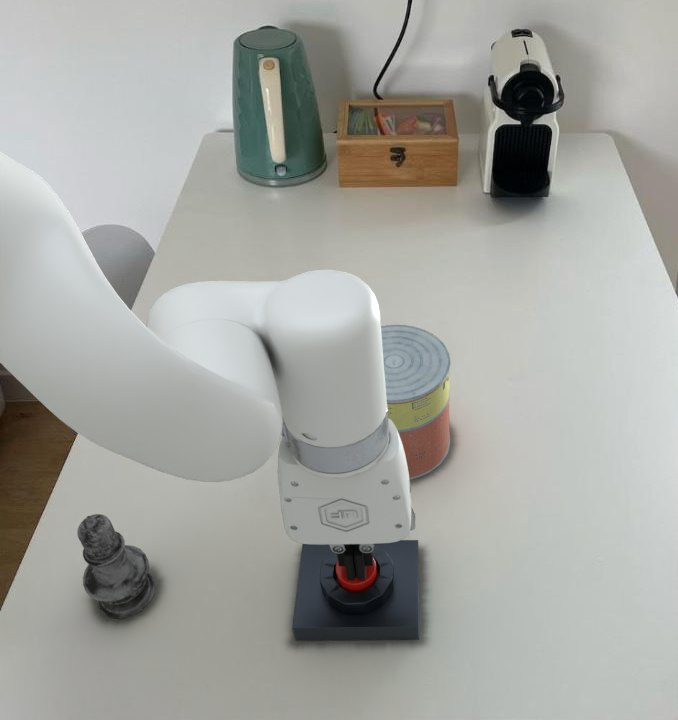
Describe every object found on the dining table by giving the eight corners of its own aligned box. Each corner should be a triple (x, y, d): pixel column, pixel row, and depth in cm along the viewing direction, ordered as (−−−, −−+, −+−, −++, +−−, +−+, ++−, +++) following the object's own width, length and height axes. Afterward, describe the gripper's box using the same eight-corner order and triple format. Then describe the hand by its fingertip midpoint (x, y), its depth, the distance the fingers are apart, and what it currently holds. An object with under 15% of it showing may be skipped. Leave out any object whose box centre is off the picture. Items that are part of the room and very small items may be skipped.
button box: (295, 641, 72) (289, 617, 69) (305, 554, 79) (300, 530, 76) (419, 639, 72) (418, 616, 69) (418, 553, 78) (417, 528, 76)
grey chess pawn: (170, 575, 77) (137, 498, 69) (135, 629, 73) (96, 554, 65) (118, 559, 79) (80, 481, 71) (81, 611, 75) (36, 534, 67)
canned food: (471, 447, 88) (473, 367, 80) (386, 499, 83) (380, 419, 75) (409, 390, 95) (405, 310, 87) (327, 434, 90) (316, 355, 82)
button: (336, 595, 72) (334, 584, 71) (338, 560, 75) (337, 549, 73) (376, 594, 72) (375, 584, 71) (377, 560, 74) (376, 549, 73)
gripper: (228, 467, 57) (268, 605, 69) (440, 463, 57) (442, 603, 69) (244, 392, 63) (279, 532, 75) (438, 387, 62) (440, 529, 75)
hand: (357, 565), depth 72 cm, fingers closed
